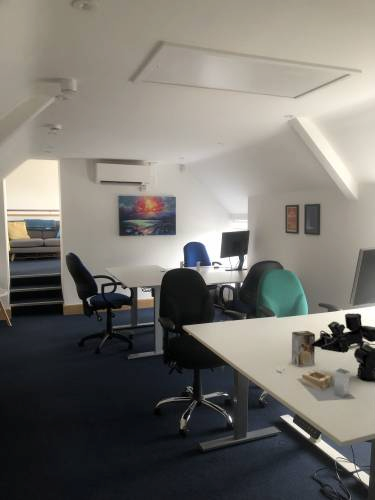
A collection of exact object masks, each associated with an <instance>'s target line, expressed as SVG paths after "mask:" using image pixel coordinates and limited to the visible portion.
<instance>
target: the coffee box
mask: <svg viewBox="0 0 375 500" xmlns="http://www.w3.org/2000/svg"><path fill="white" fill-rule="evenodd" d="M291 334H292V335H291V364H292V365H294V366H295V367H297V368H305V367H312V366H315V355H316V354H315V353H316V352H315V347H314V346H311V343H313V342H315V341H316V338H315V337H316V334H315V333H313V332H311V331H309V330H302V331H292V332H291Z"/></svg>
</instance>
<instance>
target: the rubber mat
mask: <svg viewBox="0 0 375 500" xmlns="http://www.w3.org/2000/svg"><path fill="white" fill-rule="evenodd" d="M296 380H297V381H298V382H299V383H300V384H301V385H302V386H303V387H304V388H305V389H306V390H307V391H308V392H309V393H310V395H312V396H313V398H315V400H317V402H323V401H337V400H338V401H340V400H341V401H342V400H355V399H356V397H355V396H354V395H352V393H350V392H349V395H348V396H346V397H344V398H343V397H340V396H337V395H335V394H334V390H335V379H333V378H332V385H331V386H329V387H327V388H325V389H323V390H321V391H320V390H317V389H315V388H312V387H309V386H307V385H304V384H302V378H296Z"/></svg>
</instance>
